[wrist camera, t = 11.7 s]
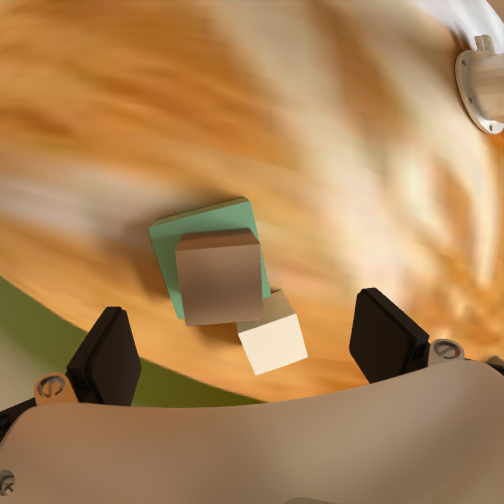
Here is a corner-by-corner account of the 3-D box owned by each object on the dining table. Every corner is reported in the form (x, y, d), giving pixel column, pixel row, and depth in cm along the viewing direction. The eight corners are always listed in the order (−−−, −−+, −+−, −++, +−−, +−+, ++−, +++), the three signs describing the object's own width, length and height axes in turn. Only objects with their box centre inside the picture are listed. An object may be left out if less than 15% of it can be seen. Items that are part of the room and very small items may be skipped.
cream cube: (233, 306, 27) (237, 333, 22) (281, 289, 27) (295, 313, 23) (248, 345, 29) (255, 375, 24) (293, 329, 29) (307, 357, 24)
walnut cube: (183, 233, 21) (174, 251, 16) (249, 227, 21) (260, 243, 17) (190, 294, 22) (186, 326, 17) (252, 289, 23) (263, 319, 18)
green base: (157, 219, 24) (147, 228, 20) (244, 196, 25) (250, 201, 21) (182, 299, 27) (178, 319, 23) (263, 278, 27) (271, 296, 23)
